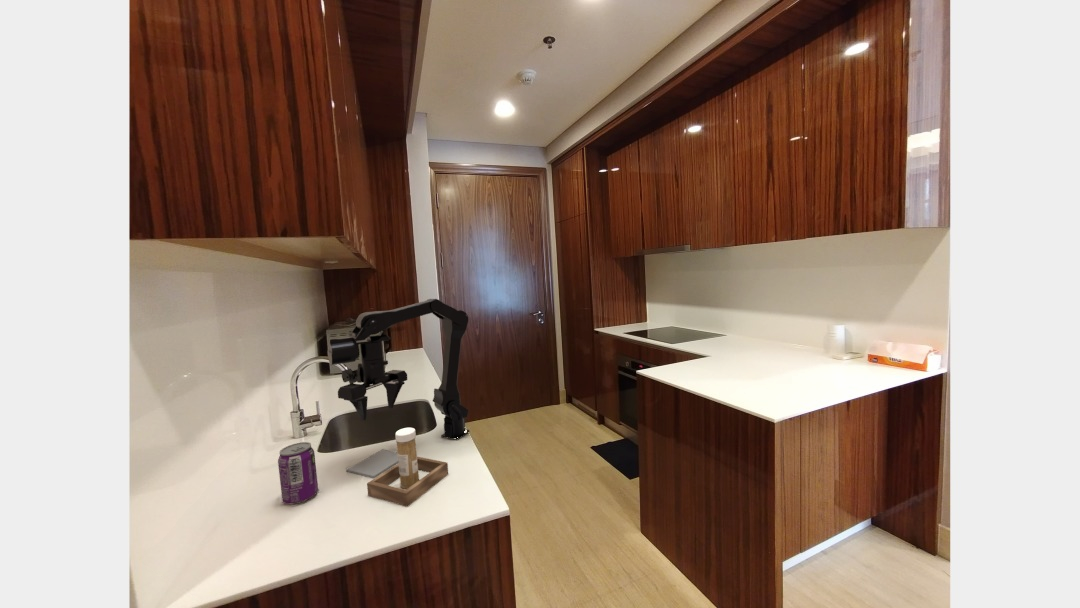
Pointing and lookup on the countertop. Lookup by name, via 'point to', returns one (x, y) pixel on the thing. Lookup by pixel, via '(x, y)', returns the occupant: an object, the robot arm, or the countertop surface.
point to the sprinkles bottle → (407, 457)
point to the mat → (375, 464)
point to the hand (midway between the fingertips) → (377, 414)
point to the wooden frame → (406, 497)
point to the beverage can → (297, 473)
